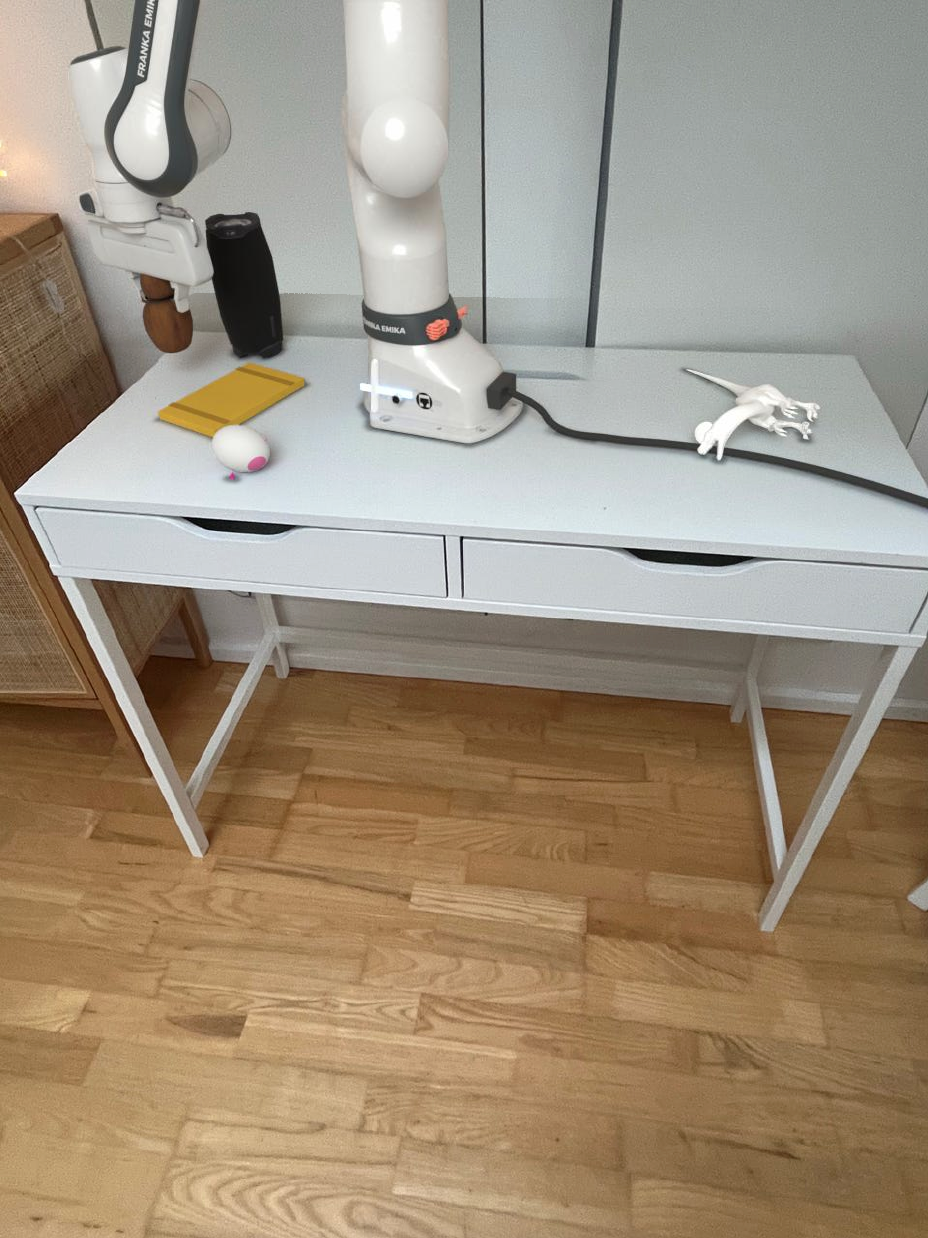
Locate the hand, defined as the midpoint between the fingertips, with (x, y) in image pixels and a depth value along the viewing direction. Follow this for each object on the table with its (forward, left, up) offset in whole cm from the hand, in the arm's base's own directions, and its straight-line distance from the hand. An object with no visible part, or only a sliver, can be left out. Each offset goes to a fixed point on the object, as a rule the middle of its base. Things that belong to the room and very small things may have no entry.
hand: (164, 306), depth 116 cm
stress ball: (-26, +13, -12) cm, 31 cm away
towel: (-11, +1, -11) cm, 16 cm away
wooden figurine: (0, 0, -6) cm, 6 cm away
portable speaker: (-2, -14, -12) cm, 18 cm away
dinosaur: (-73, -27, -12) cm, 78 cm away
